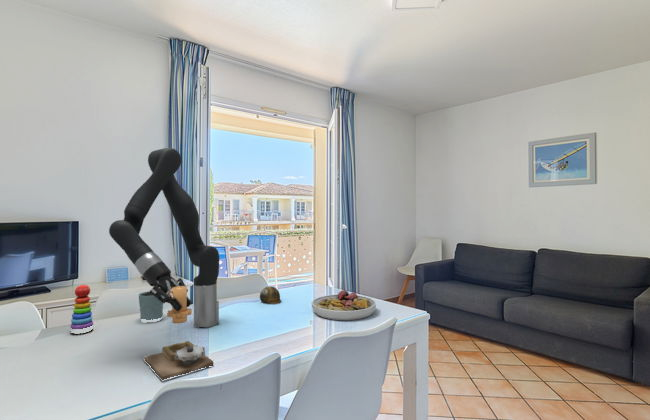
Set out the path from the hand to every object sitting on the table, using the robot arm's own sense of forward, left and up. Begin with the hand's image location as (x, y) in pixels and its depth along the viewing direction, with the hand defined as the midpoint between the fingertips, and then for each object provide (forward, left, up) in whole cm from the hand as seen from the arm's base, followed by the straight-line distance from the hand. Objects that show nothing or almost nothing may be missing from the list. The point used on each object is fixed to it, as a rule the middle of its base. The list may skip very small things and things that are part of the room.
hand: (184, 307), depth 115 cm
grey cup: (-4, -50, -17) cm, 53 cm away
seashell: (-59, -41, -17) cm, 74 cm away
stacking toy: (+21, -53, -17) cm, 60 cm away
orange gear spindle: (+1, -2, -5) cm, 5 cm away
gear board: (+3, +3, -17) cm, 17 cm away
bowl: (-75, -3, -17) cm, 77 cm away
